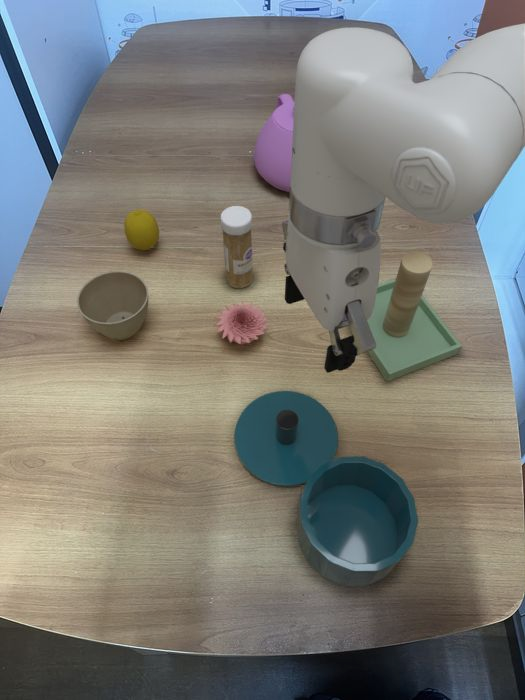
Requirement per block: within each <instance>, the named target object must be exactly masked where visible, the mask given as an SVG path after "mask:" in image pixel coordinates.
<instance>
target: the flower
mask: <svg viewBox="0 0 525 700" xmlns="http://www.w3.org/2000/svg"><path fill="white" fill-rule="evenodd" d="M232 305H233V306H228V305H224V307H225V308H226V309H227V310H218V313H220V314H222V315H221V316H216V317H214V320H215V319H216V320H219V321H218V322H217V323H215V324H213V326H214V327H218V326H219V328H218V330H217V331H216V334H219V333H221V332H222V337H221V339H225V338H227V339H228V341H229V343H230V344H231V343H232V342H235V343H236V344H239V345H244V344H250V343H252V342H253V341H256V340H257V341H258V340H259V337H260V336H261V335H264V334H266V332H265V331H264V330H265V329H267V328H268V327H269V325H268V324H266V323H267V321H268V320H269V318H268V317H265V313H266V310H265V311H262V312H261V310H260V307H261V306H260V305H258V306H256V307H254V305H253V302H250V303H249V304H248V305H247V304H246V303H245V302H244V301H243V300H242V301H241V305H239V304H238V303H236V302H235V301H233V302H232Z"/></svg>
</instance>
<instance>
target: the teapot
mask: <svg viewBox="0 0 525 700" xmlns="http://www.w3.org/2000/svg"><path fill="white" fill-rule="evenodd" d="M294 101H295V100H294V99H293V97H292V96H291V94H289V93H282V94H280V95H279V96H277V98H276V108H275V110H274V111H273V112H272V113H271V114H270V116H269V117H268V118H267V119H266V120H265V122H264V124H263V125H262V128H261V129H260V131H259V133H258V136H257V138H256V141H255V145H254V150H253V163H254V166H255V168H256V171H257V173H258V174H259V175H260V176H261V177H262V178H263V179H264V180H265V181H266V182H267V183H268V184H269V185H271V186H272V187H274V188H275V189H278V190H280V191H283V192H286V193H290V182H291V162H292V140H293V121H294Z"/></svg>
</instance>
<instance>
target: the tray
mask: <svg viewBox="0 0 525 700" xmlns="http://www.w3.org/2000/svg"><path fill="white" fill-rule="evenodd" d="M395 280H396V278H392V279H390V280H387V281H383V282H381V283H378V288H377V294H376V299H375V304H374V308H373V312H372V315H371V317H370V319H368V320H367V322H368V324H369V327H370V329H371V332H372V334H373V337H374V340H375V342H376V348H375V349H373V350H370V351H368V352H367V354H368V355H369V357H370V358H371V360H372V361H373V363H374V365H375V366H376V368H377V369H378V370H379V372H380V373H381V375H382V377H383V378H384V380H385V381H386V382H390V381H392V380H394V379H397V378H400V377H402V376H405V375H407V374H410V373H413V372H416V371H419V370H420V369H423V368H425V367H428V366H431V365H433V364H436V363H438V362H441V361H444V360H447V359H448V358H451V357H455V356H456V355H459V353H460V352H461V350H462V348H463V345H462V343H460V341H459V339H458V338H457V336H455V335H454V333H453V332H452V331H451V329H450V328H449V327H448V326H447V324H446V323H445V322H444V320H443V319H442V318H441V316H439V314H438V313H437V312H436V310H435V309H434V308H433V307H432V305H431V304H430V303H429V302H428V300H427V299H426V298H425V297H424V295H423V294H422V296H421V299H420V302H419V305H418V307H417V310H416V313H415V316H414V318H413V321H412V324H411V327H410V329H409V332H408V333H407V334H406V335H405V336H403V337H392V336H390V335H388V334H387V333H386V332H385V331H384V329H383V322H384V318H385V315H386V311H387V308H388V304H389V301H390V298H391V294H392V291H393V287H394V284H395ZM344 317H346V315H345V313H344Z"/></svg>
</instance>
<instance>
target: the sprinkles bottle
mask: <svg viewBox="0 0 525 700" xmlns="http://www.w3.org/2000/svg"><path fill="white" fill-rule="evenodd" d="M220 228H221V230H222V231H221V232H222V244H223V245H222V247H223V257H224V268H225V281H226V283H227V284H228V285H229V286H230V287H232V288H234V289H244V288H247V287H249V286H250V285H251V284H252V283H253V281H254V274H253V261H254V260H253V259H254V257H253V245H252V243H253V241H252V240H253V239H252V228H253V214H252V212H251V210H249V208H246V207H244V206H241V205H232V206H229V207H227V208H225V209H224V210H223V211H222V212H221V214H220Z"/></svg>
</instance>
